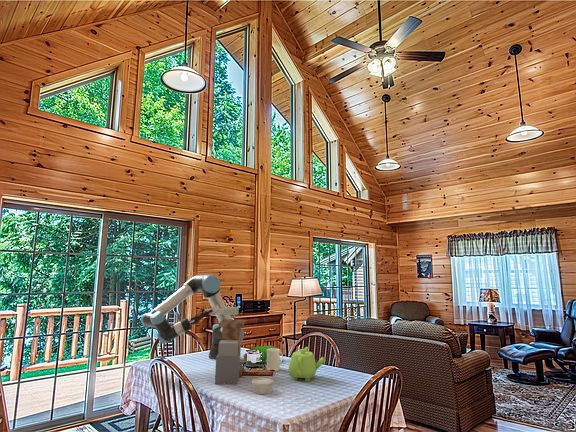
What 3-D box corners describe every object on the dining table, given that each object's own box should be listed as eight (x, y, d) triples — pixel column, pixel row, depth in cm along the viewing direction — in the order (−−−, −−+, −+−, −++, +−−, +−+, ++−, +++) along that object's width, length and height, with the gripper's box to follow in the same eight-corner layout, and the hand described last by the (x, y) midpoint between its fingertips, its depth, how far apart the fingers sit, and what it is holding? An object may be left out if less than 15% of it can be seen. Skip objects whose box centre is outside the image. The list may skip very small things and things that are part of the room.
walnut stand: (216, 377, 215) (218, 323, 220) (220, 368, 235) (222, 319, 239) (241, 377, 216) (242, 323, 220) (243, 368, 235) (245, 319, 240)
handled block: (203, 314, 226) (204, 307, 226) (206, 313, 233) (206, 306, 234) (237, 315, 227) (237, 308, 227) (238, 313, 235) (238, 307, 235)
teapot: (323, 385, 204) (324, 354, 206) (285, 382, 208) (285, 352, 211) (328, 373, 228) (328, 346, 230) (293, 371, 232) (293, 344, 235)
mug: (279, 366, 243) (279, 347, 245) (286, 369, 236) (287, 349, 238) (263, 368, 237) (264, 348, 238) (270, 371, 230) (271, 351, 231)
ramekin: (262, 387, 198) (262, 376, 199) (278, 391, 191) (278, 380, 192) (246, 391, 189) (247, 380, 190) (263, 396, 182) (263, 385, 183)
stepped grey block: (214, 384, 201) (216, 343, 204) (217, 378, 213) (219, 339, 216) (237, 384, 202) (238, 343, 205) (239, 378, 214) (240, 339, 217)
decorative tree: (243, 344, 249) (276, 338, 270) (239, 360, 251) (272, 352, 272) (253, 354, 241) (286, 346, 262) (248, 370, 243) (282, 361, 264)
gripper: (188, 330, 235) (222, 311, 238) (183, 334, 219) (219, 313, 222) (183, 319, 236) (216, 300, 239) (177, 322, 220) (213, 302, 223)
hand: (218, 307), depth 231 cm, fingers closed on handled block, 3 cm apart
